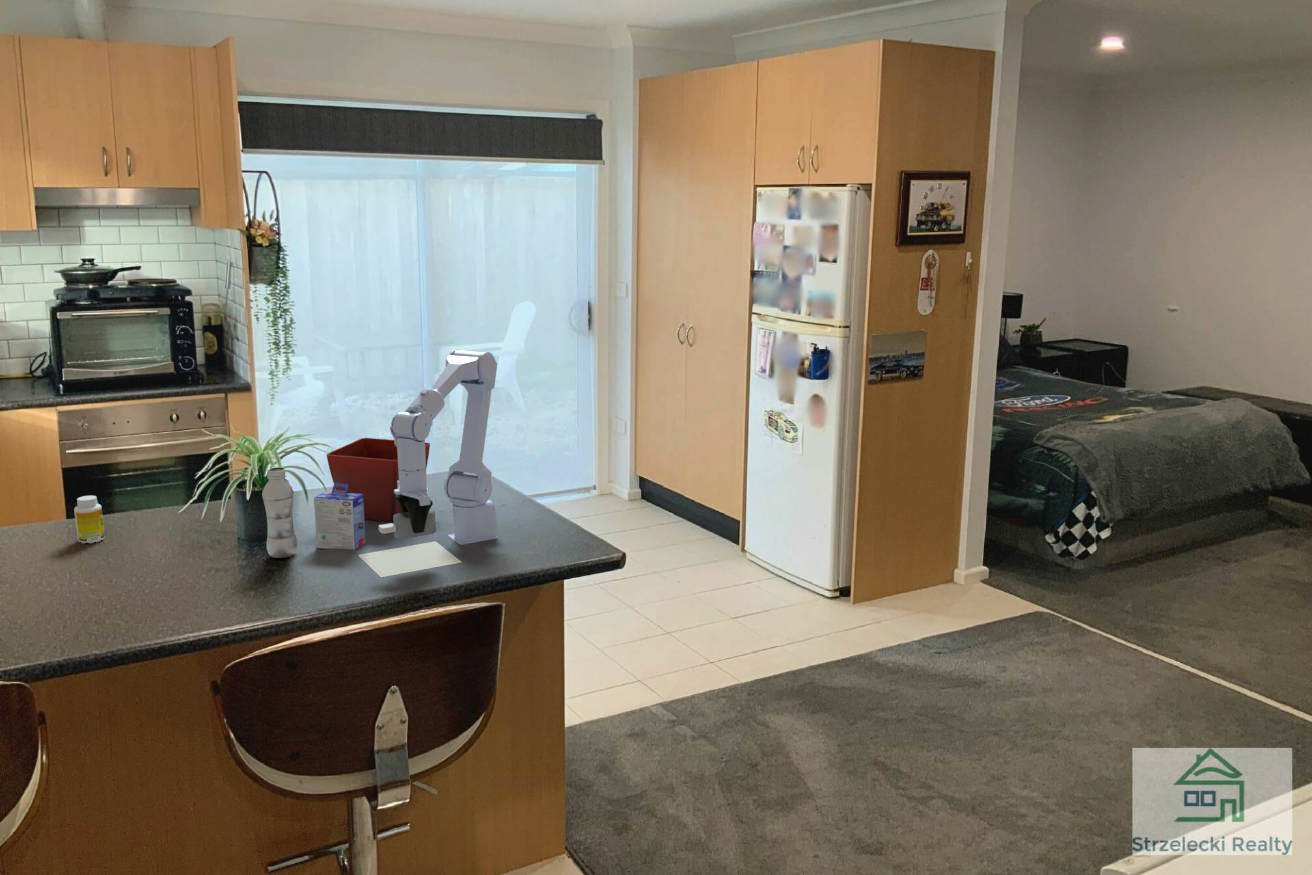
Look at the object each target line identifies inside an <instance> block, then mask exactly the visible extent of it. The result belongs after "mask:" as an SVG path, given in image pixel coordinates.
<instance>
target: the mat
mask: <svg viewBox="0 0 1312 875" xmlns="http://www.w3.org/2000/svg"><path fill="white" fill-rule="evenodd" d="M357 555H358V557H359V558H360V559H361V560H362V561H363V562H364V563H365V564H366V565H368V567H370V568H371V570H372V571H374V573H375V574H376V575H378V577H380V578H386V577H391V576H396V575H397V576H398V575H401V574H408V573H412V572H418V571H425V570H429V569H434V568H439V567H445V566H451V565H455V564H461V563H463V561H461V560H460V559H459V558H457V557H456V556H455V555H454V554H453V553H451V552H450V551H448V549H446V548H445V547H444V546H443V545H441V544H440V543H438V542H437V541H436V540H434V541H429V542H423V543H418V544H411V545H407V546H401V547H395V548H390V549H384V550H378V551H373V552H367V553H360V554H357Z"/></svg>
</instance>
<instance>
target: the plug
mask: <svg viewBox="0 0 1312 875" xmlns="http://www.w3.org/2000/svg"><path fill="white" fill-rule="evenodd" d="M392 522H393V523H392ZM392 522H391V523H384V524H379V525H378V532H380V533H381V534H383V535H384V534H390V533H393V536H394V538H395V539H398V540H405V539H412V538H417V537H423V536H429V535H434V534H436V533H437V530H436V529H437V525H436V510H434V509H431V508H430V510H429V513H428V515H427V519H426V524H425V529H424V532H421V533H414V532H413V529H412V524H411V519H410V515H409V512H404V513H398V514H395V515H394V516H393V521H392Z"/></svg>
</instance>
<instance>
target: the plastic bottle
mask: <svg viewBox="0 0 1312 875" xmlns="http://www.w3.org/2000/svg"><path fill="white" fill-rule="evenodd" d="M286 477H287V473H286V468H285V467H283V466H277V467H276V466H275V467H274V466H273V467H270V468H268V469H267V479H268V481H267V482H266V484H265V486H264V487H263V489H262V493H261V495H262V500H263V504H264V508H265V513H266V522H267V538H266V550H267V553H268V555H269V556H270V557H271V558H274V559H284V558H288V557H292V556H294V555H296V553H297V551H298V547H299V542H298V537H297V534H296V531H295V530H296V529H295V525H294V516H293V514H294V513H293V512H294V510H293V508H294V507H293V506H294V490H293V487H292V485H291V484H290V483H289V482H288V481H287V479H286Z"/></svg>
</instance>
